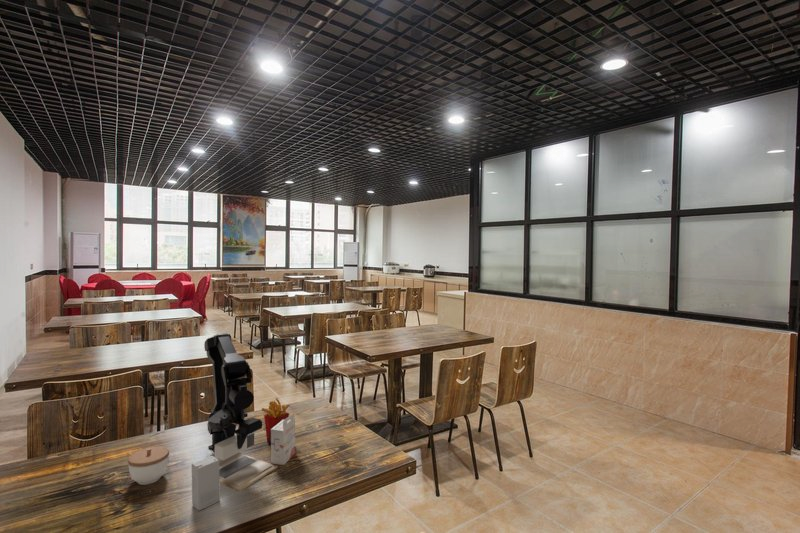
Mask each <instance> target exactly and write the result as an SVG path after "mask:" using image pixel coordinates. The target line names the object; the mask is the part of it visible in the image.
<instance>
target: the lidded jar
mask: <svg viewBox="0 0 800 533" xmlns="http://www.w3.org/2000/svg"><path fill="white" fill-rule="evenodd" d="M169 455H170V450H169V448H167V447H164V446H151V447H150V446H149V447H146V448H143V449H139V450H137V451H135V452H133V453H132V454H131V455H130V456H129V457H128V458H127V459H128V460H127V462H128V472H129V475H130V477H131V479H132V480H133V481H135V482H136V483H137V484H138V485H143V486H144V485H146V486H147V485H150V484H154V483H156V482H158V481H159V480H160V479H161V477H162V476H163V475H164V474H165V472H166V471H167V468H168V464H169V458H170V457H169Z"/></svg>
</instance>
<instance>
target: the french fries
mask: <svg viewBox="0 0 800 533" xmlns="http://www.w3.org/2000/svg"><path fill="white" fill-rule="evenodd" d="M268 404H269V405H268V409H267V408H264V407H261V410H260V411H262V412H265V413H266V414H264V416H263V417H264V418H263V419H264V428H265V436H266V441H267V442H269V443H271V429H272V428H273V427H274V426H276V425H277V424H278V423H279V422H281V421H282V420H285V419H286V418H288V417H289V416H290V413H289V412H286V411H287V410H288V408H289V407H291V405H290V404H287V405H285V404H282V405H281V402H280V400H279V399H278V398H277V397H275V400H272V401H269V403H268Z"/></svg>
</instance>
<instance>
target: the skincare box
mask: <svg viewBox="0 0 800 533" xmlns="http://www.w3.org/2000/svg"><path fill="white" fill-rule="evenodd" d="M220 492H221V491H220V483H219V459H218V458H215V455H214V456H213V455H211V456H208V457H205V458H203V459H201V460H198V461H194V462H191V505H192V506H193V507H194V508H195V509H196V510H197V511H198V512H199V511H201V510H204V509H205V508H208V507H210V506H212V505H214V504H216V503H218V502H220V499H221V498H220V497H221V496H220Z"/></svg>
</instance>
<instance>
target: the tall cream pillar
mask: <svg viewBox="0 0 800 533" xmlns="http://www.w3.org/2000/svg"><path fill="white" fill-rule="evenodd" d="M254 445H255V432H253V433H251V434H248V436H247V437H246V440H245V442H244V444H243V446H242V448H241V449H238V446H237V434H235V435H234V436H232V437H230V438H228V439H226V440H223V441H221V442H219V443H217V444H215V450H214V457H215V458H217V459H218V460H219V459H221V460H225V459H227V458H229V457H231V456H233V455H235V454H237V453H242V451H245V450H247V449H249V448H251V447H252V446H254Z"/></svg>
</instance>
